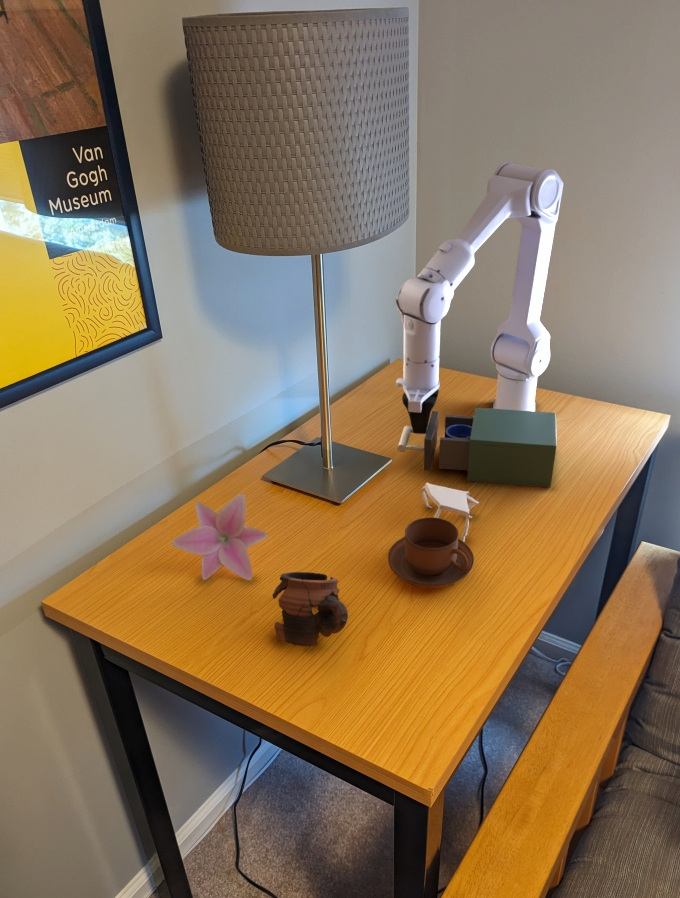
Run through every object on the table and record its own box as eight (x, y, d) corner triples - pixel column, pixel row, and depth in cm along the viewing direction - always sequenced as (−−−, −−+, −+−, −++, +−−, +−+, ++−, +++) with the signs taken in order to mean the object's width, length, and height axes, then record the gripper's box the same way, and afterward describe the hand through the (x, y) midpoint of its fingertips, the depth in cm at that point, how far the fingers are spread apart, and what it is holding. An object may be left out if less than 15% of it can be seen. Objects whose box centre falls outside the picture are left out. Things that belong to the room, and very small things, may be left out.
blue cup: (476, 445, 129) (477, 425, 127) (473, 461, 125) (475, 440, 123) (446, 443, 130) (447, 423, 128) (443, 458, 126) (444, 437, 123)
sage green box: (467, 480, 124) (469, 439, 119) (472, 446, 133) (475, 407, 128) (550, 487, 121) (556, 445, 117) (550, 452, 131) (555, 412, 126)
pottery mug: (254, 636, 95) (259, 572, 94) (307, 627, 102) (311, 568, 102) (321, 658, 88) (327, 589, 87) (373, 646, 95) (378, 583, 94)
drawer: (395, 468, 126) (395, 437, 122) (405, 439, 134) (405, 408, 130) (498, 476, 123) (501, 445, 119) (501, 446, 131) (504, 415, 127)
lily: (169, 571, 107) (160, 543, 99) (209, 506, 112) (204, 475, 104) (243, 606, 106) (240, 581, 98) (280, 539, 111) (281, 510, 103)
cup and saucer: (482, 552, 108) (485, 517, 104) (459, 604, 99) (461, 567, 95) (404, 535, 111) (405, 501, 108) (375, 583, 102) (374, 548, 99)
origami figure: (494, 522, 114) (496, 495, 111) (462, 547, 109) (464, 520, 106) (431, 495, 120) (432, 469, 117) (399, 518, 115) (399, 491, 112)
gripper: (403, 338, 125) (403, 411, 133) (389, 373, 113) (389, 450, 121) (445, 340, 124) (442, 413, 132) (435, 376, 112) (432, 454, 120)
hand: (419, 431), depth 127 cm, fingers closed, pressing on drawer
